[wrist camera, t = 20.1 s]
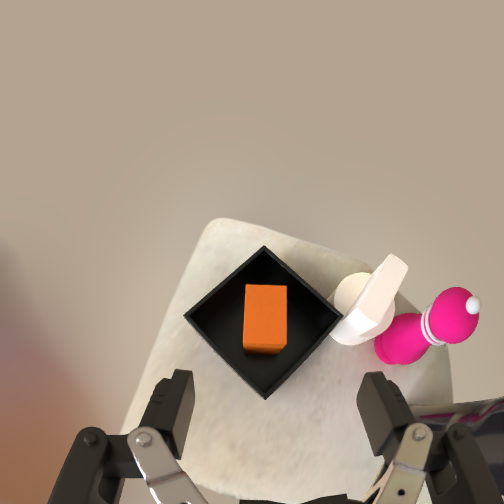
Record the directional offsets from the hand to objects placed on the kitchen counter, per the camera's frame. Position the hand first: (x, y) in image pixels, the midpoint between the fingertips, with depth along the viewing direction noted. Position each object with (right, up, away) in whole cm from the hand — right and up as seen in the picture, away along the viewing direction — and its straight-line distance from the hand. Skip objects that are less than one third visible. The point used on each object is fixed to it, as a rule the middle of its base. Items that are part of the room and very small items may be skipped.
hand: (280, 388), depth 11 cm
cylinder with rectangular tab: (+13, -3, +28) cm, 31 cm away
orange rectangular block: (0, -5, +26) cm, 26 cm away
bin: (0, -5, +26) cm, 27 cm away
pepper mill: (+20, -8, +25) cm, 33 cm away
